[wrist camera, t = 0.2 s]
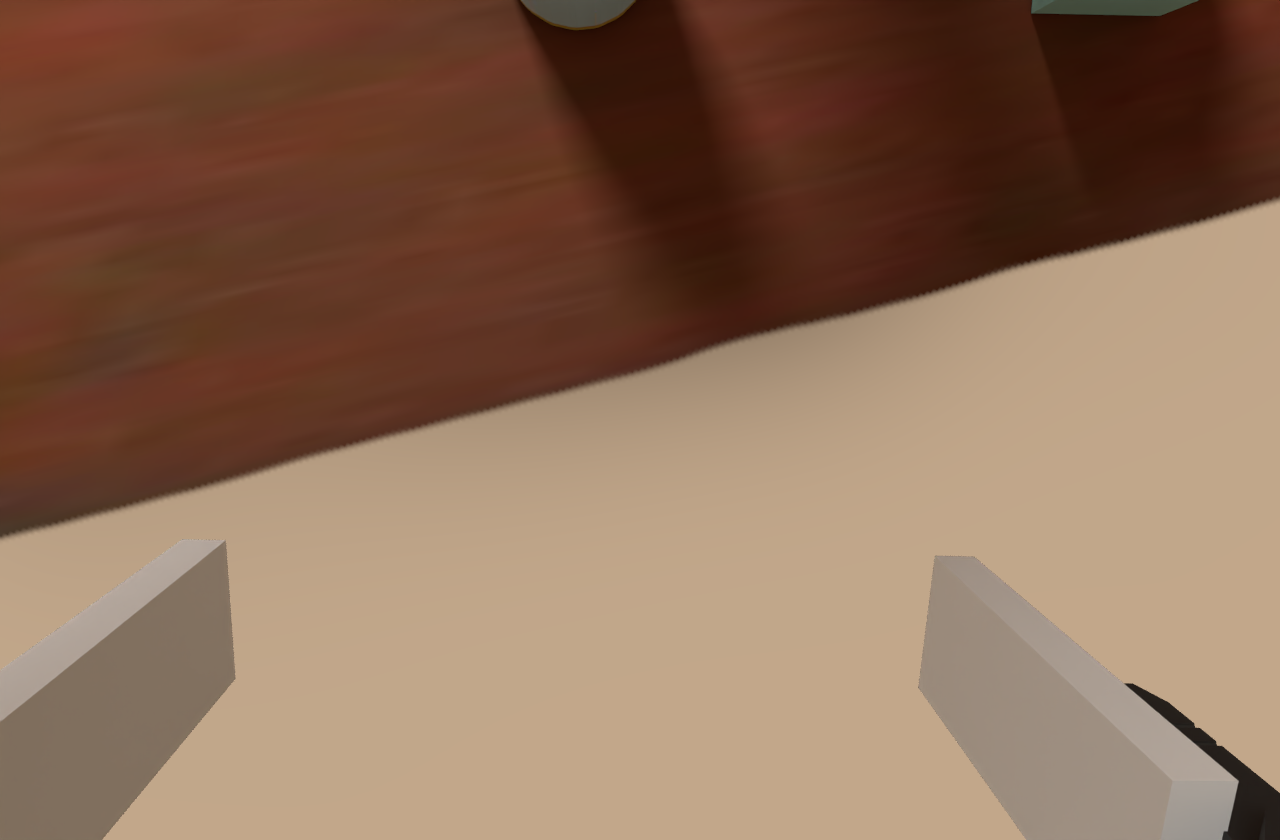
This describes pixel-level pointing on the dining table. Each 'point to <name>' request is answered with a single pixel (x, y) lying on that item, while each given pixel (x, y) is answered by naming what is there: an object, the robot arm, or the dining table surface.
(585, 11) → the bottle
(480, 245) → the dining table surface
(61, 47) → the dining table surface
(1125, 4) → the matte teal cube
